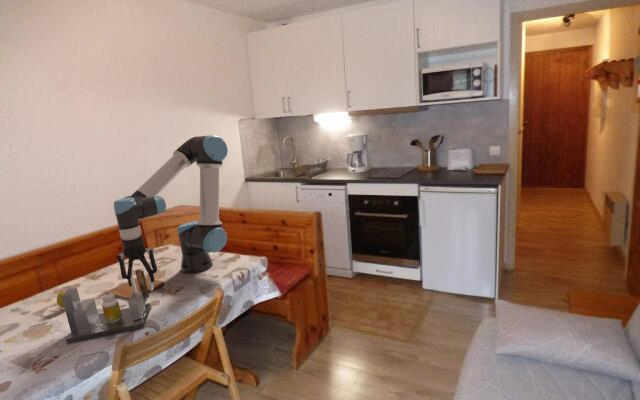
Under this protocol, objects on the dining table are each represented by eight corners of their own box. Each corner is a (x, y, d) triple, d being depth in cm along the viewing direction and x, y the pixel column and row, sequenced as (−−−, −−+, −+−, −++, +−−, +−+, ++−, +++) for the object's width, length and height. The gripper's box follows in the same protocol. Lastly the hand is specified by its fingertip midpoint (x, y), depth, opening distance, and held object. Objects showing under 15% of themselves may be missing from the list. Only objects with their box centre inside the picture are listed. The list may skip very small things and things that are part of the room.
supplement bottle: (115, 323, 144) (109, 299, 141) (102, 323, 145) (96, 299, 143) (125, 315, 149) (119, 292, 147) (112, 315, 150) (107, 292, 148)
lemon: (77, 305, 167) (73, 288, 166) (65, 312, 162) (61, 294, 161) (68, 304, 169) (63, 287, 168) (56, 311, 164) (51, 293, 162)
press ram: (150, 296, 163) (143, 268, 160) (140, 318, 144) (133, 286, 142) (142, 298, 162) (136, 269, 159) (132, 320, 144) (124, 288, 141)
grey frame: (151, 308, 157) (142, 271, 154) (143, 328, 142) (133, 287, 138) (82, 322, 152) (72, 283, 148) (67, 344, 137) (55, 302, 133)
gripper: (158, 230, 160) (169, 283, 165) (108, 238, 157) (121, 292, 162) (155, 235, 153) (166, 290, 158) (103, 244, 149) (116, 299, 155)
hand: (143, 291), depth 160 cm, fingers open, 6 cm apart
